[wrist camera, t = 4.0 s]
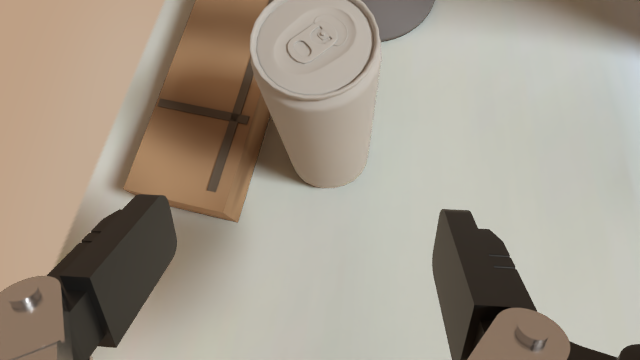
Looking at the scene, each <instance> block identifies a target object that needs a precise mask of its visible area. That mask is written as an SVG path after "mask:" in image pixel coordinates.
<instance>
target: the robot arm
mask: <svg viewBox="0 0 640 360" xmlns="http://www.w3.org/2000/svg"><path fill="white" fill-rule="evenodd" d="M176 246H177V238H176V233H175V228H174V224H173V219H172V215H171V210H170V206H169V202H168V199H167V198H166V196H164V195H148V194H138V195H136V196H135V197H134V198H133V199H132V200H131V201H130V202H129V203H128V204H127V205H126V206H125V207H124V208H123V209H122V210H118V211H116V212H114V213H113V214H111V215H109V216H108V217H106V218H104V219H103V220H102V221H101V222H100V223H99V224H98V225H97V226H96V227H95V228H94V229H93V230H92V231H91V233H89V234H88V235H87V236H86V237H85V238H84V239H83V240H82V243H79V244H78V245H77V246H76V247H75V248H74V249H73V250H72V251H71V252H70V253H69V254H68V255H67V256H66V257H65V258H64V259H63V260H62V261H61V262H60V263H59V264H58V265H57V266H56V267H55V268H54V269H53V270H52V271H51V272H50V273H49V274H48V275H47V276H38V277H32V278H28V279H25V280H22V281H20V282H17V283H15V284H13V285H11V286H9V287H8V288H6V289H4V290H3V291H2V292H0V360H93V358H92V356H91V355H92V353H93V352H94V350H95V349H96V347H97V346H102V347H115V348H116V347H117V346H118V344H119V342H120V341H121V339H122V338H123V336H124V335H125V333H126V331H127V330H128V328H129V327H130V325H131V324H132V322H133V320H134V319H135V317H136V316H137V314H138V312H139V311H140V309H141V308H142V306H143V305H144V303H145V301H146V300H147V298H148V297H149V295H150V293H151V292H152V290H153V289H154V287H155V286H156V284H157V282H158V281H159V279H160V278H161V276H162V275H163V273H164V271H165V270H166V268H167V267H168V265H169V263H170V262H171V260H172V259H173V257H174V255H175V251H176ZM509 256H510V255H509V253H508V251H507V249H506V247H505V245H504V243H503V241H502V240H501V239H499V238H498V237H497V236H496V235H495V234H494V233H493V232H492V231H490V230H489V229H478V228H477V225H476V223H475V221H474V218H473V216H472V214H471V212H470V211H469V210H448V209H442V210H441V212H440V215H439V220H438V226H437V232H436V238H435V244H434V250H433V258H432V267H433V275H434V280H435V285H436V289H437V294H438V298H439V303H440V307H441V312H442V316H443V321H444V325H445V330H446V334H447V339H448V343H449V348H450V352H451V357H452V360H640V344H636V345H630V346H627V347H626V348H624V349H623V350H622V351H621V353H620V355H619V357H618V358H617V357H614V356H610V355H607V354H604V353H601V352H598V351H595V350H591V349H588V348H585V347H582V346H579V345H577V344H574V343H572V342H570V341H569V339H568V337H567V335H566V334H565V332H564V331H563V330H562V329H561V328H560V326H559V325H557V324H556V323H555V322H554V321H553V320H551V319H550V318H548V317H546V316H545V315H543V314H541V313H538V312H537V310H536V308H535V306H534V304H533V302H532V300H531V298H530V296H529V294H528V292H527V290H526V288H525V286H524V284H523V282H522V279H521V277H520V275H519V273H518V271H517V270H515V265H514V263H513V261H512V259H511V258H510V257H509Z"/></svg>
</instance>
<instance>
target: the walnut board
mask: <svg viewBox="0 0 640 360" xmlns="http://www.w3.org/2000/svg"><path fill="white" fill-rule="evenodd" d="M272 1H273V0H196V1H195V4H194V6H193V9H192V11H191V14H190V17H189V19H188V22H187V24H186V27H185V30H184V32H183V35H182V37H181V40H180V43H179V45H178V48H177V50H176V53H175V56H174V58H173V61H172V63H171V66H170V69H169V71H168V74H167V76H166V79H165V82H164V84H163V87H162V89H161V92H160V95H159V97H158V100H157V102H156V105H155V108H154V110H153V113H152V115H151V118H150V121H149V123H148V126H147V128H146V131H145V134H144V136H143V139H142V141H141V144H140V147H139V149H138V152H137V154H136V157H135V160H134V162H133V165H132V167H131V170H130V173H129V175H128V178H127V180H126V183H125V186H124V188H123V189H124V190H126V191H128V192H130V193H132V194H135V195H138V194H148V195H164V196H166V198H167V199H168V202H169V206H171V207H175V208H180V209H184V210H188V211H192V212H196V213H200V214H205V215H209V216H213V217H217V218H221V219H226V220H230V221H234V222H238V220H239V217H240V214H241V210H242V207H243V204H244V200H245V197H246V194H247V190H248V187H249V184H250V180H251V177H252V174H253V170H254V167H255V164H256V161H257V157H258V154H259V151H260V147H261V144H262V141H263V137H264V134H265V131H266V127H267V124H268V121H269V117H270V112H269V110H268V107H267V105H266V103H265V100H264V98H263V96H262V94H261V91H260V89H259V87H258V84H257V82H256V80H255V77H254V73H253V69H252V66H251V54H250V35H251V32H252V29H253V26H254V23H255V21H256V19H257V18H258V16H259V15H260V14H261V12H262V11H263V9H264V8H265V7H266V6H267V5H269V4H270V3H271V2H272Z"/></svg>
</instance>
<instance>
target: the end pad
mask: <svg viewBox="0 0 640 360" xmlns="http://www.w3.org/2000/svg"><path fill="white" fill-rule="evenodd" d="M361 1H362V2H363V3H365V5H366V6H367V7H368V9H369V10H370V11H371V13H372V14H373V15H374V18H375V21H376V23H377V26H378V28H379V37H380V40H381V42H383V41H388V40H392V39H396V38H398V37H401V36H403V35H405V34H407V33H409V32H410V31H412V30H413V29H415V28H416V27H417V26H418V25H419V24H420V23H422V22H423V20H424V19H425V18H426V17H427V15H428V14H429V12H430V10H431V8H432V6H433V4H434V1H435V0H361Z"/></svg>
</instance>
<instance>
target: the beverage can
mask: <svg viewBox="0 0 640 360" xmlns="http://www.w3.org/2000/svg"><path fill="white" fill-rule="evenodd" d="M250 54H251V66H252V69H253V73H254V77H255V80H256V82H257V84H258V87H259V89H260V91H261V94H262V96H263V98H264V100H265V103H266V105H267V107H268V110H269V112H270V114H271V117H272V119H273V121H274V124H275V126H276V128H277V130H278V133H279V135H280V137H281V140H282V142H283V144H284V147H285V149H286V151H287V153H288V156H289V158H290V160H291V163H292V165H293V167H294V169H295V171H296V172H297V174H298V175H299V176H300V177H301V178H302V179H303V180H304V181H305V182H307V183H309V184H311V185H313V186H316V187H321V188H335V187H340V186H344V185H346V184H348V183H350V182H352V181H354V180H355V179H356V178H357V177H358V176H359V175H360V174H361V173H362V171H363V169H364V167H365V166H366V162H367V158H368V153H369V146H370V138H371V131H372V124H373V117H374V110H375V102H376V95H377V88H378V81H379V74H380V67H381V59H382V53H381V40H380V37H379V28H378V26H377V23H376V21H375V18H374V15H373V14H372V13H371V11H370V10H369V9H368V7H367V6H366V5H365V3H363V2H362V1H361V0H273V1H272V2H271V3H270V4H269V5H267V6H266V7H265V8H264V9H263V11H262V12H261V14H260V15H259V16H258V18H257V19H256V21H255V23H254V26H253V29H252V32H251V35H250Z"/></svg>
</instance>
